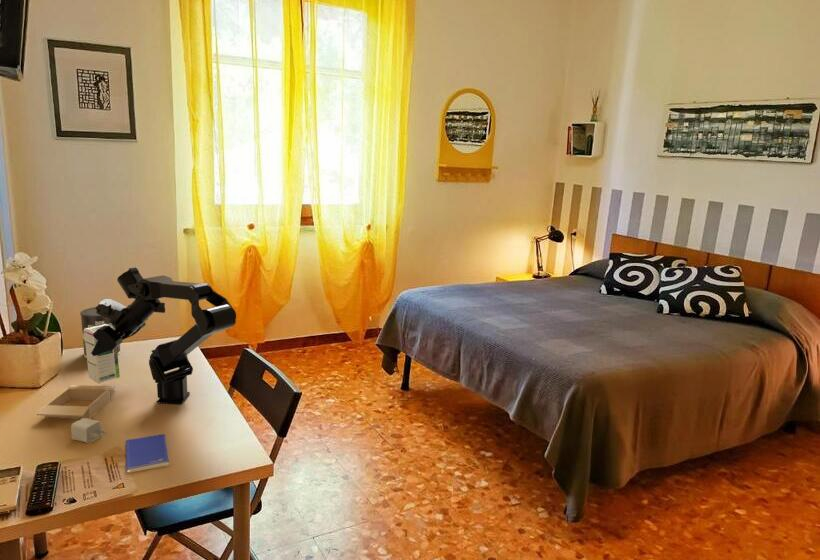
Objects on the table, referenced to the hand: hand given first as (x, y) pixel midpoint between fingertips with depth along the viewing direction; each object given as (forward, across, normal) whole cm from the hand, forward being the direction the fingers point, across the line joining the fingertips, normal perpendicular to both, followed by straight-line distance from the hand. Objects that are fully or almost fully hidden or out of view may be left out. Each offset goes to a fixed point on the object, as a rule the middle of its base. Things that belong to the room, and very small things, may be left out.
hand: (100, 349), depth 152 cm
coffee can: (+16, -24, -1) cm, 29 cm away
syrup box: (+6, 0, +6) cm, 8 cm away
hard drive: (-9, +33, +27) cm, 43 cm away
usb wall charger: (+1, +28, +16) cm, 32 cm away
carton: (+8, +13, +8) cm, 17 cm away
